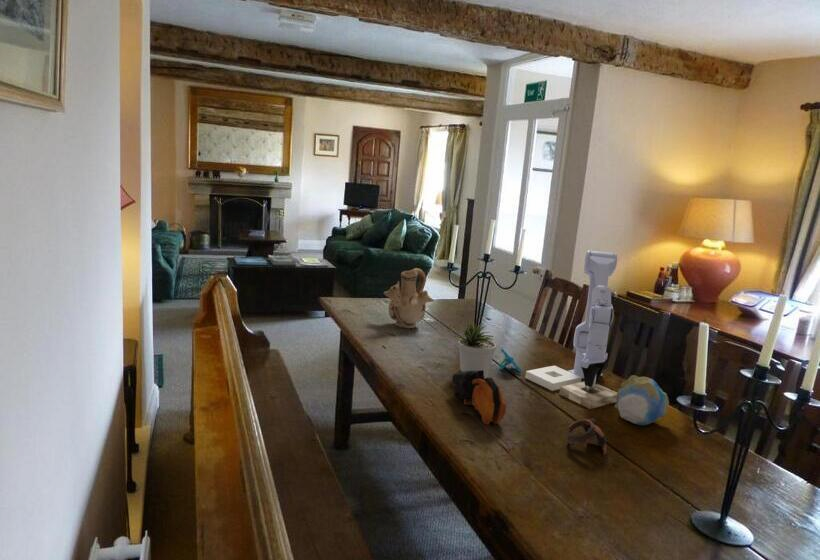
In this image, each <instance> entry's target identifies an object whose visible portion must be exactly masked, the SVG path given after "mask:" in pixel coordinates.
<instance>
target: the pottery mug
mask: <svg viewBox="0 0 820 560" xmlns="http://www.w3.org/2000/svg"><path fill="white" fill-rule="evenodd" d="M579 427H583V429H584V431H585V432H584V433H581V434H578V435H574V434H572V431H573V430H575V429H576V428H579ZM567 428H568V429H567V430H566V431H565V432H566V435H567V436H566V440H565V441H566V443H567V444H569V445H571V446H576V447H577V446H583V447H585V448H587V442H588V440H589V441H590V442H595V443H596V445H597V446H599V447H602V448H601V450H602V454H603V456H606V454H607V453H608V452H607V451H608V450H607V441H606V437H605V434H604V432H603V431H602V430H601V428H600V427H599V426H598V423H597V421H596V419H595V418H588V419H578V420H575V421H574V422H572V423H571V424H569V425H568V427H567Z"/></svg>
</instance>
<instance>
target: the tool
mask: <svg viewBox="0 0 820 560" xmlns="http://www.w3.org/2000/svg"><path fill="white" fill-rule="evenodd" d="M484 378H485V377H484V370H480V371H463V372H461V370H459V371H458V372H455V373H454V374H453V375H452V383H453V384H455V385H456V386H454V397H456V398H458V399H463V403H464V405H468V406H474V410H476V411H478V415H480V416H481V419H482V420H481V422H483V424H484V425H487V426H489V425H490V423H491V422H492V423H493V424H494V425H497V424H498V423H500V421H502V420H503V418H504V417H505V414H506V410H507V409H506V408H507V404H506V402H505V399H504V397H503V396H502V392H501V389H500V387H499V385H498V384H497V383H496V382H495V380H494V379H493V378H492V377H487V378H485V379H484Z"/></svg>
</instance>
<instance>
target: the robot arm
mask: <svg viewBox="0 0 820 560" xmlns="http://www.w3.org/2000/svg"><path fill="white" fill-rule="evenodd" d="M617 264H618V254H617V253H616V252H605V251H597V250H596V251H595V250H590V249H588V250H587V251H586V253H585V259H584V267H583V268H584V269H583V271H584V272H583V273H584V274H586V275H588V278H589V285H588V293H587V301H586V310H585V315H584V316H585V317H584V321H583V322H581V323H579V324H578V325H577V326H576V327H575V331H574V336H573V342H572V343H573V347H574V348H575V349H576V351H575V358H574V366H573V369H569V370H567V371H568V372H571V373H573V374H575V375H578V376H580V377H582V379H583V382H585V385H586V386H589V387H592V385H593V383H594V379H595V376H596V383H595V384H598V383H599V381H600V377H602V376H603V371H604V370H605V368H606V367H607V365H608V363H607V361H606V360H607V359H608V354H609V353H608V352H606V351H607V345H608V338H609V331H610V326H612V324H613V320H614V307H613V304H612V290H611V289H610V288H609V287H608V283H609V277H612V275H613V274H614V271H616V268H617ZM596 374H597V375H596Z"/></svg>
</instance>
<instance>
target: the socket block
mask: <svg viewBox="0 0 820 560" xmlns="http://www.w3.org/2000/svg"><path fill="white" fill-rule="evenodd" d="M568 371H569V370H566V369H563V368H561V367H559V366H557V365H551V366H544V367H540V368H535V369H530V370H529V369H528V370H526V371H525V376H524V378H525V379H526V380H529V381H531V382H533V383H535V384H537V385H539V386H541V387H544V388H545V389H548V390H549V391H551V392H554V391H558V390H560V387H562V386H566V385H571V384H575V383H580V382H582V379H583V378H582V377H580V376H578V375H575V374H573V373H571V372H568Z"/></svg>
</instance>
